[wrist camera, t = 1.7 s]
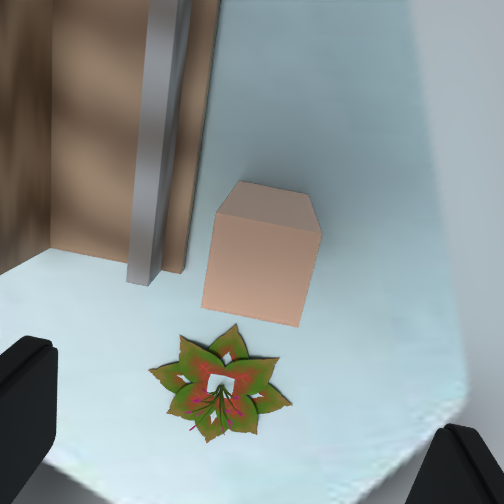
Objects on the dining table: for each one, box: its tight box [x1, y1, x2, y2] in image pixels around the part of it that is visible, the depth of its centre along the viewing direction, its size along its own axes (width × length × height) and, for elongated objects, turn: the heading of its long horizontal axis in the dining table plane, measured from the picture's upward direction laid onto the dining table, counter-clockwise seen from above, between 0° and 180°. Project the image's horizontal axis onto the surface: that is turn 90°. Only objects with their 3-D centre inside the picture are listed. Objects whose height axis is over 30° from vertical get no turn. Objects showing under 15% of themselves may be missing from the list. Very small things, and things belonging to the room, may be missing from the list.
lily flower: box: [148, 324, 292, 443], centre depth 31 cm, size 12×12×5 cm
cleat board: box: [0, 0, 221, 286], centre depth 22 cm, size 20×13×9 cm, turn 170°
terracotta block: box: [201, 181, 322, 327], centre depth 23 cm, size 5×5×10 cm
